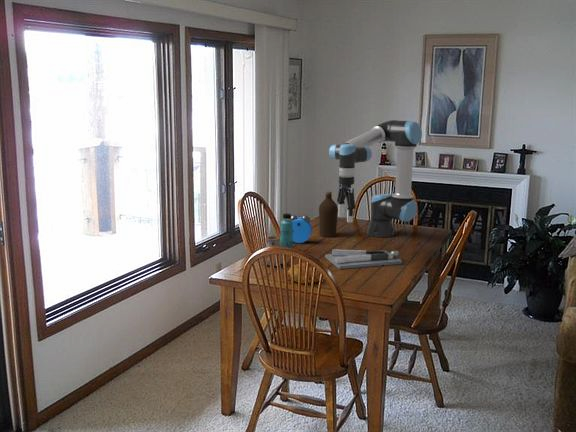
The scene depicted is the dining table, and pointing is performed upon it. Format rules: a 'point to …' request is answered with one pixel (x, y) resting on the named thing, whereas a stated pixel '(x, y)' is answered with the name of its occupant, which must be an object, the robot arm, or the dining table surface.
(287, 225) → the beverage bottle
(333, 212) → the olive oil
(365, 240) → the dining table surface
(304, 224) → the alarm clock
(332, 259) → the slate board
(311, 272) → the croissant
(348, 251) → the tong arm
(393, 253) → the tongs fixed arm
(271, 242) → the coffee pot
